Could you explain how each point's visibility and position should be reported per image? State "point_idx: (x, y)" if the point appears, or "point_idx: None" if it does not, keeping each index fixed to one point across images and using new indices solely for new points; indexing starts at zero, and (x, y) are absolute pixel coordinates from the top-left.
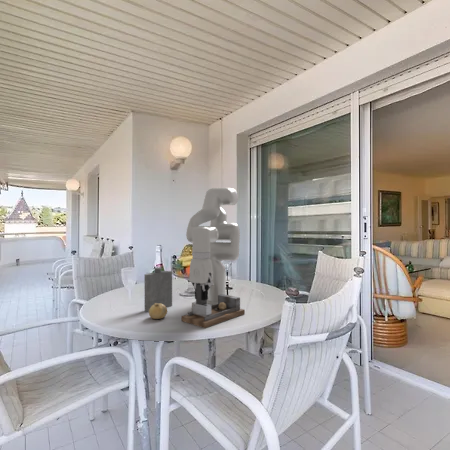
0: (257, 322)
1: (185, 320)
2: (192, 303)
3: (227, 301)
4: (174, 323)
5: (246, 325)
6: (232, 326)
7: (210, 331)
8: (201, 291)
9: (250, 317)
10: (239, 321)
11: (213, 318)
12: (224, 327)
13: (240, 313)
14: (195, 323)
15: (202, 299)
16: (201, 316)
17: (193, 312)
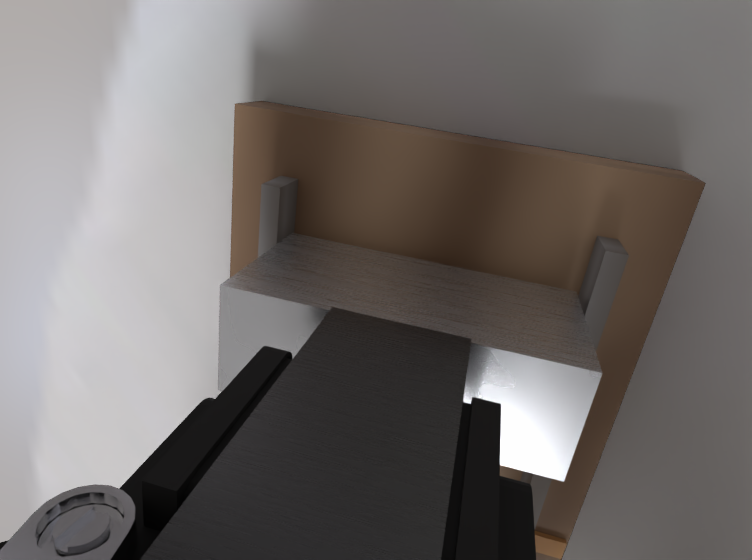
0: (41, 452)
1: (604, 160)
2: (578, 362)
3: None
4: (726, 22)
5: (46, 359)
6: (104, 286)
7: (150, 43)
8: (201, 487)
9: None
10: (148, 424)
11: None
12: (134, 227)
13: None
14: (408, 128)
15: (259, 350)
16: None
17: (539, 290)
